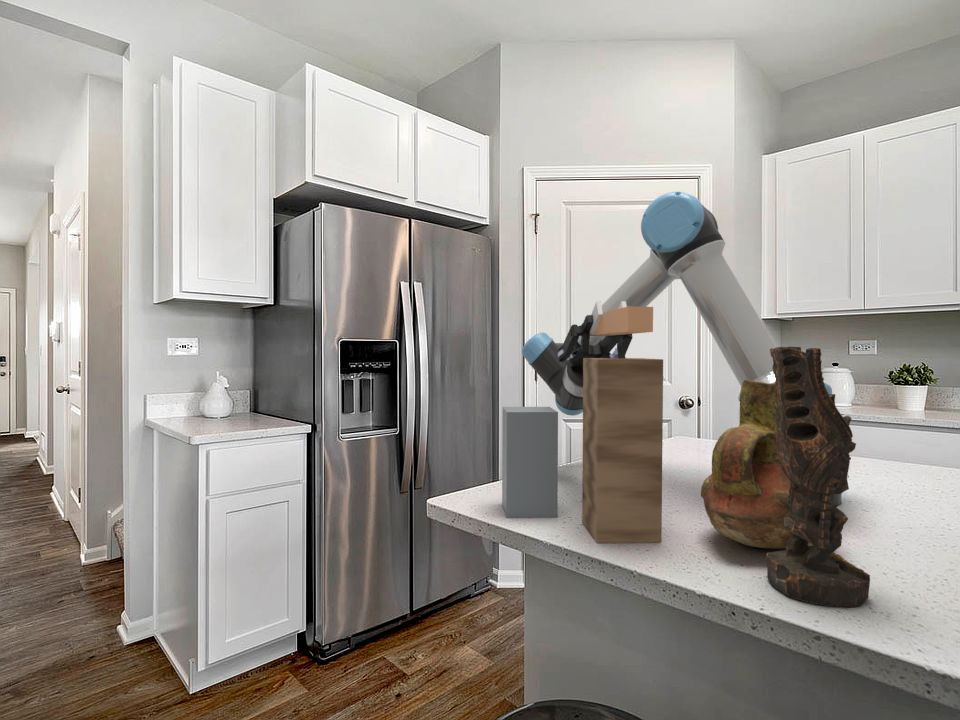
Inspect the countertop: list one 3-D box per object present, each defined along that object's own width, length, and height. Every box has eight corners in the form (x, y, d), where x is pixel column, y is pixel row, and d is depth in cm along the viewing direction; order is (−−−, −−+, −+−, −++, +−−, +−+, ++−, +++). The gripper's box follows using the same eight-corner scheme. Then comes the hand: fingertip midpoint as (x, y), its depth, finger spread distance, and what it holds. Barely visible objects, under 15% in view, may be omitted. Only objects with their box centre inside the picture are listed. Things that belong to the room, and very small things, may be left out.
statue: (882, 612, 64) (887, 346, 63) (782, 603, 66) (785, 346, 66) (843, 576, 74) (847, 346, 74) (757, 569, 76) (760, 346, 76)
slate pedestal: (502, 503, 108) (502, 406, 108) (549, 503, 109) (549, 406, 108) (506, 517, 99) (506, 412, 99) (557, 517, 100) (558, 412, 99)
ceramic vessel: (856, 538, 89) (858, 378, 89) (792, 582, 72) (795, 385, 72) (745, 513, 102) (747, 374, 102) (669, 547, 85) (671, 379, 84)
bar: (587, 335, 106) (587, 316, 106) (606, 335, 107) (606, 316, 107) (628, 331, 81) (628, 306, 81) (652, 331, 82) (653, 306, 82)
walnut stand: (582, 522, 97) (583, 358, 96) (640, 522, 97) (641, 358, 96) (596, 543, 87) (598, 359, 86) (661, 542, 87) (663, 359, 86)
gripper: (627, 388, 115) (664, 326, 95) (545, 388, 115) (565, 326, 94) (621, 356, 119) (656, 290, 98) (542, 355, 118) (561, 289, 98)
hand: (612, 307), depth 96 cm, fingers closed on bar, 4 cm apart
